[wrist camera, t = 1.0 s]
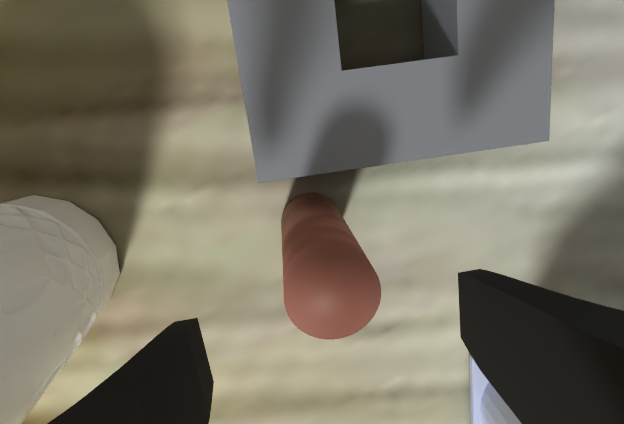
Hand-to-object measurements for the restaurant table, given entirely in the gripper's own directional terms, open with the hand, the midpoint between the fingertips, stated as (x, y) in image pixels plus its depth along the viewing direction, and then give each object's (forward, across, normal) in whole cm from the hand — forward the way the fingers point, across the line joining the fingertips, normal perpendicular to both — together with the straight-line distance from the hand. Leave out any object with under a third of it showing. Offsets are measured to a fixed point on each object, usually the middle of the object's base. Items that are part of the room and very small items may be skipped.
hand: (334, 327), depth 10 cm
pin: (+9, 0, 0) cm, 9 cm away
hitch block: (+9, -4, -9) cm, 14 cm away
